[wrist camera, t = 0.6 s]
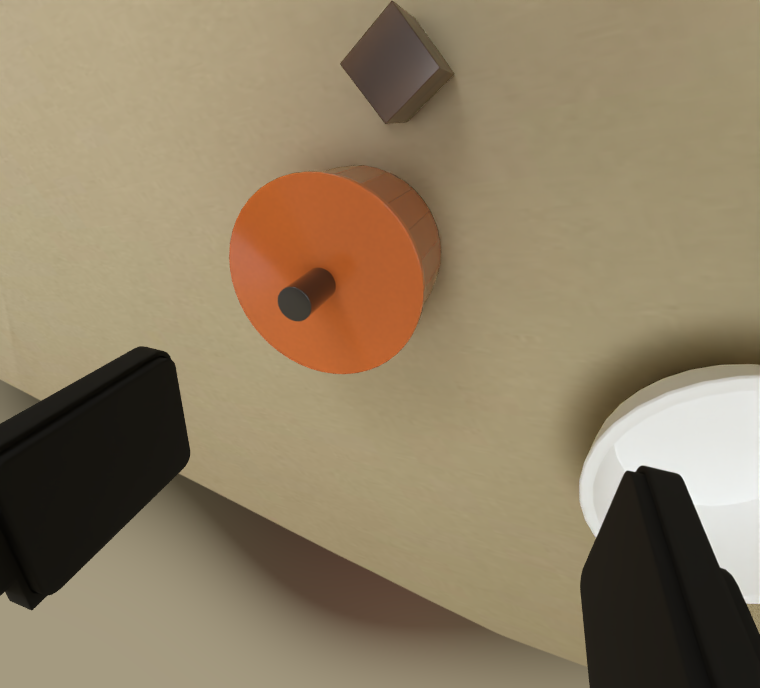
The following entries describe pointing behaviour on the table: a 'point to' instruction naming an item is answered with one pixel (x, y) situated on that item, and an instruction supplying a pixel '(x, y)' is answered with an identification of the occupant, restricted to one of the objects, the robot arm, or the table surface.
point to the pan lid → (327, 272)
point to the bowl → (691, 457)
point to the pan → (403, 213)
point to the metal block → (396, 66)
